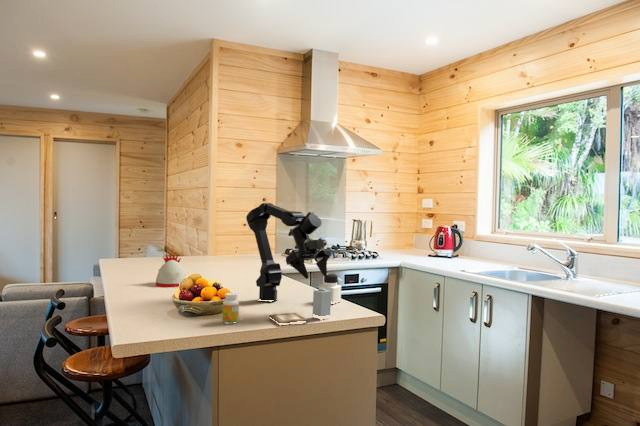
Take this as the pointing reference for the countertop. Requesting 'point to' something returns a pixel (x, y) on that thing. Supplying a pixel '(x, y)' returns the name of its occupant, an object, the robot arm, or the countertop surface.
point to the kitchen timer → (170, 273)
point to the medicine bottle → (332, 286)
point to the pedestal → (287, 318)
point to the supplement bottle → (230, 308)
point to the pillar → (321, 302)
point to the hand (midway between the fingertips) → (316, 277)
